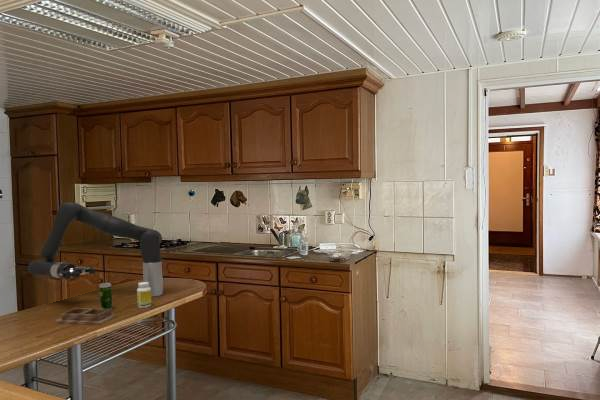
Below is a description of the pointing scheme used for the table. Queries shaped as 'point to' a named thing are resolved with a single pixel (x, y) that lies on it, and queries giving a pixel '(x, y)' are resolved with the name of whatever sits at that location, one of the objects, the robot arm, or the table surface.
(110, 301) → the beer can
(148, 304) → the pill bottle
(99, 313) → the rack
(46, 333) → the table surface
